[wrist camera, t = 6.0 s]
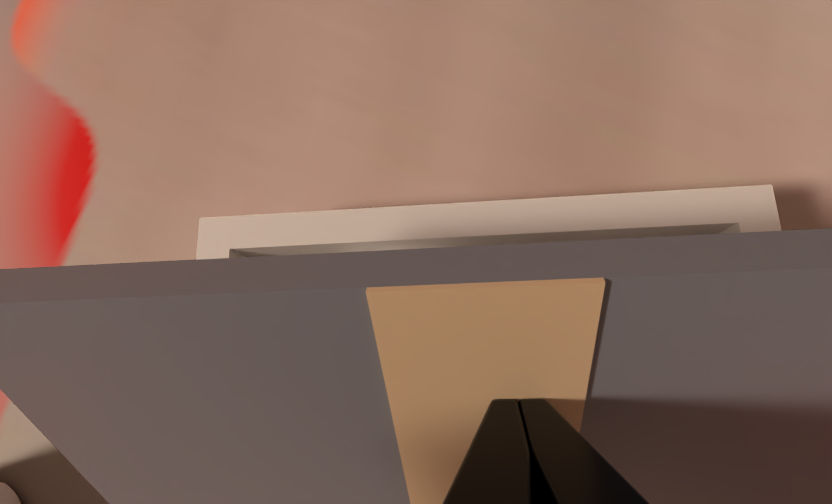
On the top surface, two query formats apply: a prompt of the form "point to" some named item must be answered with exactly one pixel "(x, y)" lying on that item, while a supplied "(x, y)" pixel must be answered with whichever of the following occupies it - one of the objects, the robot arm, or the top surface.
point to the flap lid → (432, 367)
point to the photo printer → (8, 495)
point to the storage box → (492, 222)
